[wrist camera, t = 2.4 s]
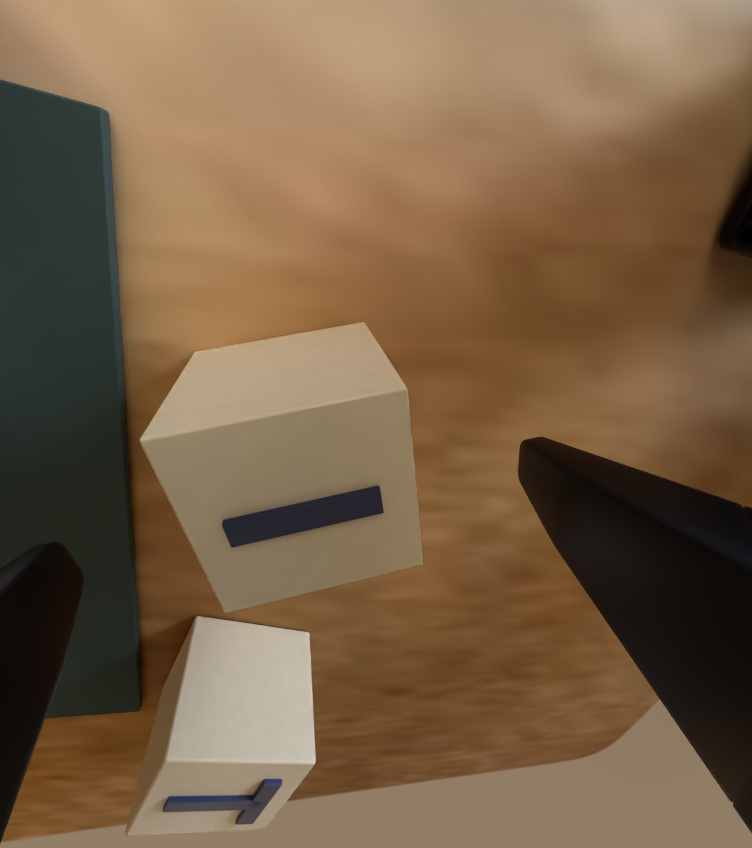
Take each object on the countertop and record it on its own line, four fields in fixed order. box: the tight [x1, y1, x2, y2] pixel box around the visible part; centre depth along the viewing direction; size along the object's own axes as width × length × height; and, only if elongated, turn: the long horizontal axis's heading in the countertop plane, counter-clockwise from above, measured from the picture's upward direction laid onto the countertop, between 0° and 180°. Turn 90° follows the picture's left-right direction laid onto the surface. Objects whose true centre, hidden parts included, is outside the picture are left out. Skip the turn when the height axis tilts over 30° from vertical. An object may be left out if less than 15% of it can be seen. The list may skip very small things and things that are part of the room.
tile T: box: [126, 616, 316, 836], centre depth 14 cm, size 4×4×5 cm
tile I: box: [140, 322, 424, 613], centre depth 10 cm, size 4×4×5 cm
